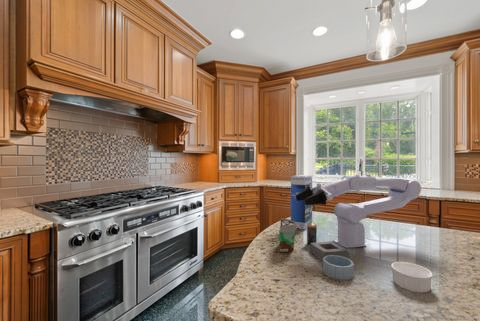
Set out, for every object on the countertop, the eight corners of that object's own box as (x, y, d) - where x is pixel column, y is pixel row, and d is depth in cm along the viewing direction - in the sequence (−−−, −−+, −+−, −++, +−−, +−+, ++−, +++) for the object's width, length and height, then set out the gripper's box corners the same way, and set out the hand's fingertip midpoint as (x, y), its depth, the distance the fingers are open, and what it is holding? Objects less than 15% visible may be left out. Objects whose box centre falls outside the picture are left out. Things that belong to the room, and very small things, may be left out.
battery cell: (313, 242, 93) (313, 222, 93) (318, 245, 90) (318, 224, 90) (305, 242, 93) (305, 223, 93) (310, 246, 89) (310, 225, 89)
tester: (331, 249, 86) (331, 240, 86) (348, 259, 77) (348, 249, 77) (310, 251, 84) (310, 242, 84) (324, 261, 75) (324, 251, 75)
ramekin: (435, 298, 55) (435, 280, 55) (391, 287, 60) (391, 271, 60) (429, 282, 63) (429, 266, 63) (390, 273, 67) (390, 259, 67)
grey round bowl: (340, 265, 73) (340, 254, 73) (359, 278, 65) (359, 265, 65) (317, 267, 71) (317, 256, 71) (334, 281, 63) (334, 268, 63)
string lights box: (304, 230, 109) (305, 176, 110) (289, 227, 114) (289, 175, 114) (312, 224, 121) (312, 175, 121) (298, 222, 125) (298, 174, 125)
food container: (297, 256, 79) (297, 227, 79) (279, 255, 80) (279, 226, 80) (296, 244, 91) (296, 218, 91) (280, 242, 92) (280, 218, 92)
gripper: (319, 177, 97) (290, 187, 95) (340, 182, 83) (307, 193, 80) (323, 193, 98) (294, 203, 95) (345, 201, 83) (311, 212, 81)
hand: (300, 200), depth 88 cm, fingers open, 7 cm apart
